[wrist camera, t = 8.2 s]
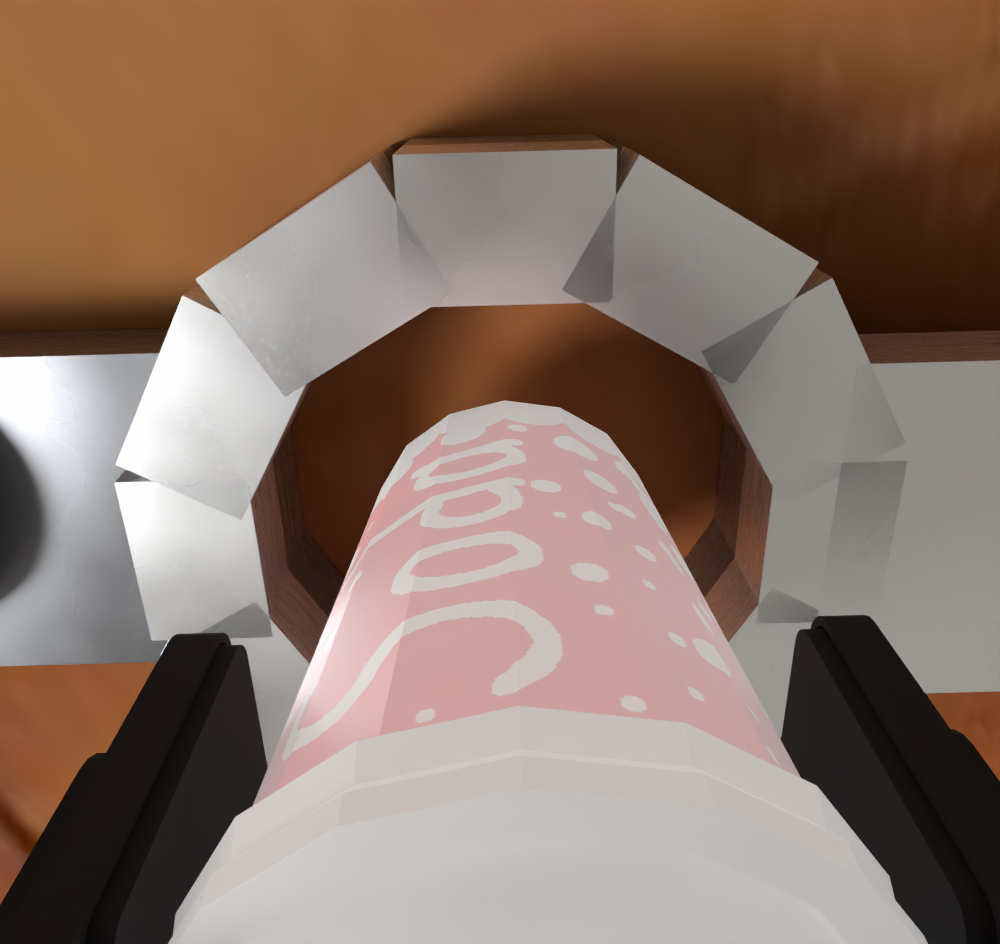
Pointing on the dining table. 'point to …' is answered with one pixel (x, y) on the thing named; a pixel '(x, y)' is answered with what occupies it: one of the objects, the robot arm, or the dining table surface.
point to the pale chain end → (639, 305)
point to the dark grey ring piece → (92, 471)
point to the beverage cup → (531, 734)
